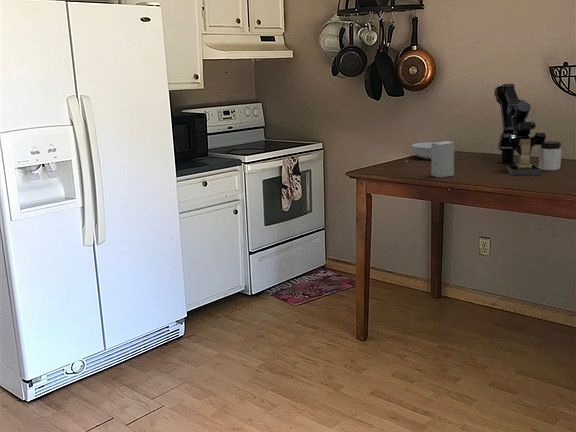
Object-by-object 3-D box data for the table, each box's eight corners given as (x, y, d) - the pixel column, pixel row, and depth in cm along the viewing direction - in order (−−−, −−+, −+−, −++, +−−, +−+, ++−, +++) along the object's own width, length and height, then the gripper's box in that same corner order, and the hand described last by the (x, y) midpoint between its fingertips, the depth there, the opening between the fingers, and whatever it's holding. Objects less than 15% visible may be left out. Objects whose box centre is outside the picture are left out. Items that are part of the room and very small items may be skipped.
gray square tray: (506, 170, 286) (507, 161, 285) (534, 170, 284) (535, 161, 283) (511, 175, 274) (512, 166, 273) (541, 175, 272) (541, 166, 271)
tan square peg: (518, 168, 281) (520, 139, 277) (526, 168, 280) (528, 138, 277) (520, 169, 277) (522, 140, 274) (528, 169, 277) (530, 139, 274)
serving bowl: (457, 160, 318) (458, 146, 316) (415, 162, 318) (415, 148, 317) (448, 154, 338) (448, 141, 336) (408, 155, 338) (408, 142, 337)
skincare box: (446, 174, 284) (447, 140, 280) (454, 176, 278) (455, 142, 275) (430, 175, 281) (430, 142, 278) (438, 178, 276) (438, 143, 272)
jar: (551, 171, 281) (552, 144, 278) (535, 168, 288) (536, 142, 285) (563, 168, 286) (565, 141, 283) (547, 166, 292) (549, 140, 289)
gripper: (501, 115, 278) (507, 144, 270) (546, 113, 276) (552, 142, 268) (496, 131, 287) (501, 159, 279) (539, 130, 286) (545, 158, 278)
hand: (525, 154), depth 276 cm, fingers closed on tan square peg, 3 cm apart
